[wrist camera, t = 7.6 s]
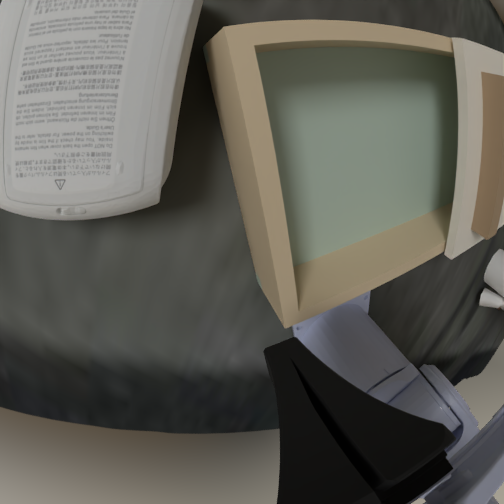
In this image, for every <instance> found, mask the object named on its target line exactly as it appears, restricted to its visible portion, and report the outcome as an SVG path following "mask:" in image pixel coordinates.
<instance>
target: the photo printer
mask: <svg viewBox="0 0 504 504" xmlns="http://www.w3.org/2000/svg"><path fill="white" fill-rule="evenodd" d="M202 4H203V0H2V2H1V5H0V208H2V209H5V210H7V211H10V212H13V213H16V214H20V215H24V216H29V217H34V218H40V219H49V220H87V219H97V218H104V217H111V216H116V215H121V214H125V213H129V212H133V211H137V210H140V209H143V208H147V207H150V206H152V205H155V204H158V203H159V201H160V194H161V187H162V186H163V184H164V183H165V181H166V179H167V177H168V175H169V172H170V169H171V165H172V160H173V152H174V144H175V136H176V130H177V123H178V117H179V111H180V105H181V99H182V94H183V88H184V83H185V78H186V72H187V67H188V63H189V58H190V53H191V49H192V44H193V40H194V36H195V31H196V27H197V23H198V19H199V15H200V11H201V7H202Z"/></svg>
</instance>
